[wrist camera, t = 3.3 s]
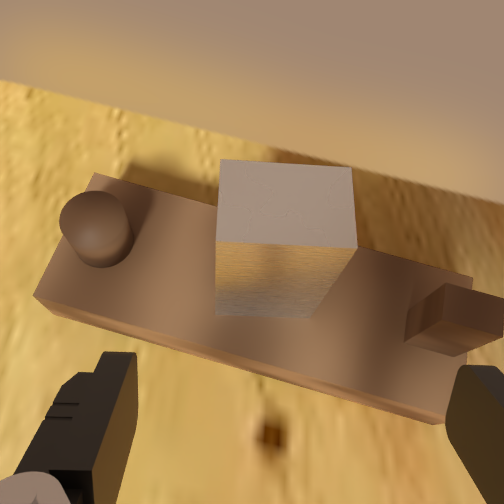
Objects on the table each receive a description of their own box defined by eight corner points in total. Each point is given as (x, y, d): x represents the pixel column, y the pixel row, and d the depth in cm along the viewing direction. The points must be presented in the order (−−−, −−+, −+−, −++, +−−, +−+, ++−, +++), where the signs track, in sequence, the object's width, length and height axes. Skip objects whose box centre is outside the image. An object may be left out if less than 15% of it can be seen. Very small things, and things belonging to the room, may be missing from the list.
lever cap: (307, 252, 23) (350, 157, 16) (309, 318, 22) (357, 248, 14) (218, 247, 23) (221, 149, 15) (215, 314, 21) (215, 241, 14)
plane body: (445, 296, 26) (521, 244, 19) (432, 424, 23) (516, 412, 17) (106, 201, 27) (72, 121, 20) (53, 314, 24) (-6, 262, 17)
